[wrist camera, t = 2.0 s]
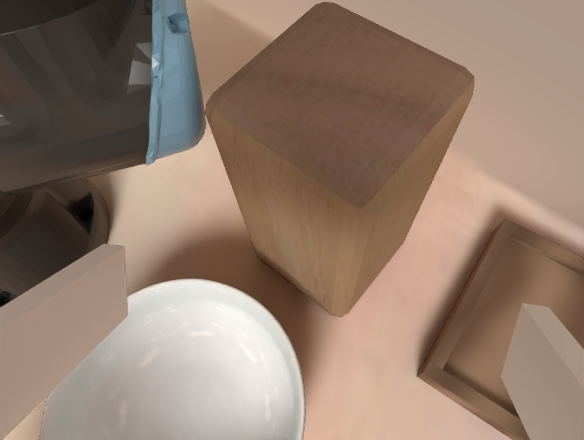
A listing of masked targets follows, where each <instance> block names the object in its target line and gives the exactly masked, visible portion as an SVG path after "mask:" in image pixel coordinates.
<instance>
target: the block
mask: <svg viewBox="0 0 584 440" xmlns="http://www.w3.org/2000/svg"><path fill="white" fill-rule="evenodd" d="M473 88H474V76H473V75H472V74H471V73H470V72H469V71H468V70H467V69H466V68H465V67H463V66H461V65H459V64H457V63H455V62H453V61H451V60H449V59H447V58H445V57H443V56H441V55H438V54H436V53H434V52H433V51H431V50H428V49H427V48H424V47H422V46H420V45H418V44H416V43H414V42H412V41H410V40H408V39H406V38H404V37H402V36H400V35H398V34H396V33H394V32H392V31H390V30H388V29H386V28H384V27H382V26H379V25H378V24H376V23H374V22H372V21H370V20H367V19H366V18H364V17H362V16H360V15H358V14H355V13H353V12H351V11H349V10H347V9H345V8H343V7H341V6H339V5H337V4H335V3H330V2H323V3H320V4H316V5H315V6H314V7H312V8H311V9H310V10H309V11H308V12H307V13H305V14H304V15H303V16H302V17H301V18H300V19H298V20H297V21H296V22H295V23H294V24H293V25H291V26H290V27H289V28H288V29H287V30H286V31H285V32H284V33H282V34H281V35H280V36H279V37H278V38H276V39H275V40H274V41H273V42H272V43H271V44H270V45H268V46H267V47H266V48H265V49H264V50H263V51H261V52H260V53H259V54H258V55H257V56H256V57H255V58H253V59H252V60H251V61H250V62H249V63H248V64H246V65H245V66H244V67H243V68H242V69H241V70H239V71H238V72H237V73H236V74H235V75H234V76H233V77H231V78H230V79H229V80H228V81H227V82H226V83H224V84H223V85H222V86H221V87H220V88H219V89H218V90H216V91H215V92H214V93H213V94H212V95H211V97H210V99H209V101H208V102H207V104H206V111H205V114H206V117H207V119H208V122H209V125H210V128H211V130H212V133H213V136H214V139H215V141H216V144H217V147H218V150H219V152H220V155H221V158H222V161H223V163H224V166H225V169H226V172H227V174H228V177H229V180H230V183H231V185H232V188H233V191H234V194H235V196H236V199H237V202H238V205H239V207H240V210H241V213H242V216H243V219H244V221H245V224H246V227H247V230H248V232H249V235H250V238H251V241H252V243H253V246H254V249H255V251H256V253H257V255H258V257H259V258H261V259H262V260H263V261H264V262H266V263H267V264H268V265H269V266H271V267H272V268H273V269H274V270H276V271H277V272H278V273H279V274H281V275H282V276H283V277H284V278H286V279H287V280H288V281H289V282H291V283H292V284H293V285H294V286H296V287H297V288H298V289H299V290H301V291H302V292H303V293H304V294H306V295H307V296H308V297H309V298H311V299H312V300H313V301H314V302H316V303H317V304H318V305H319V306H321V307H322V308H323V309H324V310H326V311H327V312H328V313H329V314H330V315H333V316H337V317H342V316H344V315H345V314H347V313H348V312H349V311H350V310H351V309H352V307H353V306H354V305H355V304H356V302H357V301H358V300H359V298H360V297H361V296H362V295H363V293H364V292H365V291H366V290H367V288H368V287H369V286H370V284H371V283H372V282H373V281H374V279H375V278H376V277H377V276H378V274H379V273H380V272H381V270H382V269H383V268H384V267H385V265H386V264H387V263H388V262H389V260H390V259H391V258H392V256H393V255H394V254H395V253H396V251H397V250H398V249H399V248H400V246H401V245H402V244H403V242H404V240H405V238H406V236H407V234H408V232H409V230H410V228H411V225H412V223H413V221H414V219H415V217H416V215H417V213H418V211H419V208H420V206H421V204H422V202H423V200H424V198H425V196H426V194H427V191H428V189H429V187H430V185H431V183H432V181H433V179H434V177H435V174H436V172H437V170H438V168H439V166H440V164H441V162H442V160H443V158H444V155H445V153H446V151H447V149H448V147H449V145H450V143H451V141H452V138H453V136H454V134H455V132H456V130H457V128H458V126H459V123H460V121H461V119H462V117H463V115H464V113H465V111H466V109H467V107H468V104H469V102H470V100H471V98H472V95H473Z"/></svg>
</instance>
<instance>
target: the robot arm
mask: <svg viewBox="0 0 584 440" xmlns="http://www.w3.org/2000/svg"><path fill="white" fill-rule="evenodd" d="M205 129H206V117H205V111H204V104H203V98H202V92H201V86H200V81H199V75H198V70H197V64H196V58H195V53H194V48H193V42H192V37H191V32H190V28H189V20H188V15H187V10H186V4H185V0H0V440H3V439H4V438H5V437H6V436H7V435H8V434H9V433H10V432H11V431H12V430H13V429H14V428H15V427H16V426H17V425H18V424H19V423H20V422H21V421H22V420H23V419H24V418H25V417H26V416H27V415H28V414H29V413H30V412H31V411H32V410H33V409H34V408H35V407H36V406H37V405H38V404H39V403H40V402H41V401H42V400H43V399H44V398H45V397H46V396H47V395H48V394H49V393H50V392H51V391H52V390H53V389H54V388H55V387H56V386H57V385H58V384H59V383H60V382H61V381H62V380H63V379H64V378H65V377H66V376H67V375H68V374H69V373H70V372H71V371H72V370H73V369H74V368H76V367H77V366H78V365H79V364H80V363H81V362H82V361H83V360H84V359H85V358H86V357H87V356H88V355H89V354H90V353H91V352H92V351H93V350H94V349H95V348H96V347H97V346H98V345H99V344H100V343H101V342H102V341H103V340H104V339H105V338H106V337H107V336H108V335H109V334H110V333H111V332H112V331H113V330H114V329H115V328H116V327H117V326H118V325H119V324H120V323H121V322H122V321H123V320H124V319H125V318H126V317H127V316H128V300H127V283H126V266H125V249H124V246H117V245H110V244H106V241H107V237H108V231H109V216H108V210H107V207H106V204H105V202H104V199H103V198H102V196H101V194H100V193H99V192H98V190H97V189H96V188H95V187H94V186H93V185H92V184H91V183H90V182H89V181H88V180H87V179H86V178H87V177H91V176H95V175H100V174H104V173H108V172H112V171H116V170H120V169H124V168H129V167H133V166H137V165H141V164H145V165H150V164H151V163H153V162H154V161H155V160H156V159H159V158H162V157H165V156H169V155H172V154H176V153H179V152H182V151H186V150H189V149H191V148H192V147H194V146H195V145H197V144H198V142H199V141H200V140H201V138H202V137H203V135H204V133H205ZM501 379H502V381H503V383H504V385H505V387H506V389H507V392H508V394H509V396H510V398H511V400H512V402H513V404H514V406H515V409H516V411H517V413H518V415H519V417H520V419H521V421H522V424H523V426H524V428H525V430H526V432H527V434H528V436H529V438H530V440H584V349H583V348H582V347H581V345H580V344H579V343H578V342H577V341H576V339H575V338H574V337H573V336H572V335H571V333H570V332H569V331H568V330H567V329H566V327H565V326H564V325H563V324H562V323H561V321H560V320H559V319H558V318H557V317H556V315H555V314H554V313H553V312H552V311H551V309H550V308H549V307H546V306H539V305H532V304H525V303H522V305H521V308H520V312H519V315H518V319H517V322H516V325H515V329H514V332H513V336H512V339H511V343H510V346H509V349H508V353H507V356H506V360H505V363H504V366H503V370H502V373H501Z"/></svg>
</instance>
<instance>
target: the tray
mask: <svg viewBox="0 0 584 440" xmlns="http://www.w3.org/2000/svg"><path fill="white" fill-rule="evenodd" d="M522 303H525V304H532V305H539V306H546V307H549V308H550V309H551V311H552V312H553V313H554V314H555V315H556V317H557V318H558V319H559V320H560V321H561V323H562V324H563V325H564V326H565V327H566V329H567V330H568V331H569V332H570V333H571V335H572V336H573V337H574V338H575V339H576V341H577V342H578V343H579V344H580V345H581V347H582V348H583V349H584V258H583V257H581V256H579V255H577V254H575V253H573V252H571V251H569V250H567V249H565V248H563V247H561V246H559V245H557V244H555V243H553V242H551V241H549V240H547V239H545V238H543V237H541V236H539V235H537V234H535V233H533V232H531V231H529V230H527V229H525V228H523V227H521V226H519V225H517V224H515V223H513V222H511V221H509V220H507V219H504V220H503V221H502V223H501V224H500V225H499V226H498V227H497V228H496V229H495V230H494V232H493V234H492V236H491V238H490V240H489V242H488V244H487V245H486V247H485V249H484V251H483V253H482V255H481V257H480V259H479V260H478V262H477V264H476V266H475V268H474V270H473V272H472V274H471V276H470V277H469V279H468V281H467V283H466V285H465V287H464V289H463V291H462V292H461V294H460V296H459V298H458V300H457V302H456V304H455V306H454V307H453V309H452V311H451V313H450V315H449V317H448V319H447V321H446V322H445V324H444V326H443V328H442V330H441V332H440V334H439V336H438V337H437V339H436V341H435V343H434V345H433V347H432V349H431V351H430V352H429V354H428V356H427V358H426V360H425V362H424V364H423V366H422V367H421V369H420V371H419V373H418V375H417V377H418V378H420V379H421V380H423V381H424V382H426V383H428V384H429V385H431V386H432V387H434V388H435V389H437V390H438V391H440V392H441V393H443V394H444V395H446V396H447V397H449V398H450V399H452V400H453V401H455V402H456V403H458V404H459V405H461V406H462V407H464V408H465V409H467V410H468V411H470V412H471V413H473V414H474V415H476V416H477V417H479V418H480V419H482V420H484V421H485V422H487V423H488V424H490V425H491V426H493V427H494V428H496V429H497V430H499V431H500V432H502V433H503V434H505V435H506V436H508V437H509V438H511V439H512V440H530V438H529V436H528V434H527V432H526V430H525V428H524V426H523V424H522V421H521V419H520V417H519V415H518V413H517V411H516V409H515V406H514V404H513V402H512V400H511V398H510V396H509V394H508V392H507V389H506V387H505V385H504V383H503V381H502V379H501V373H502V370H503V366H504V363H505V360H506V356H507V353H508V349H509V346H510V343H511V339H512V336H513V332H514V329H515V325H516V322H517V319H518V315H519V312H520V308H521V305H522Z"/></svg>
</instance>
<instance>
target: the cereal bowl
mask: <svg viewBox="0 0 584 440" xmlns="http://www.w3.org/2000/svg"><path fill="white" fill-rule="evenodd" d="M127 300H128V316H127V317H126V318H125V319H124V320H123V321H122V322H121V323H120V324H119V325H118V326H117V327H116V328H115V329H114V330H113V331H112V332H111V333H110V334H109V335H108V336H107V337H106V338H105V339H104V340H103V341H102V342H101V343H100V344H99V345H98V346H97V347H96V348H95V349H94V350H93V351H92V352H91V353H90V354H89V355H88V356H87V357H86V358H85V359H84V360H83V361H82V362H81V363H80V364H79V365H78V366H77V367H76V368H74V369H73V370H72V371H71V372H70V373H69V374H68V375H67V376H66V377H65V378H64V379H63V380H62V381H61V382H60V383H59V384H58V385H57V386H56V387H55V388H54V389H53V390H52V391H51V392H50V393H49V394H48V397H47V400H46V404H45V408H44V412H43V417H42V422H41V429H40V440H303V437H304V430H305V421H306V418H305V414H306V408H305V406H306V402H305V392H304V389H305V388H304V382H303V378H302V373H301V368H300V364H299V361H298V359H297V355H296V352H295V350H294V348H293V345H292V343H291V341H290V339H289V337H288V335H287V334H286V332H285V330H284V329H283V327H282V326H281V324H280V323H279V322H278V320H277V319H276V318H275V317H274V315H273V314H272V313H271V312H270V311H269V310H268V309H267V308H266V307H265V306H263V305H262V304H261V303H260V302H259V301H257V300H256V299H254V298H253V297H252V296H250V295H248V294H246V293H245V292H243V291H241V290H239V289H237V288H234V287H232V286H229V285H227V284H224V283H220V282H216V281H212V280H207V279H198V278H188V279H176V280H170V281H165V282H161V283H157V284H154V285H151V286H148V287H146V288H143V289H141V290H138V291H136V292H134V293H132V294H130V295H128V296H127Z"/></svg>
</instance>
